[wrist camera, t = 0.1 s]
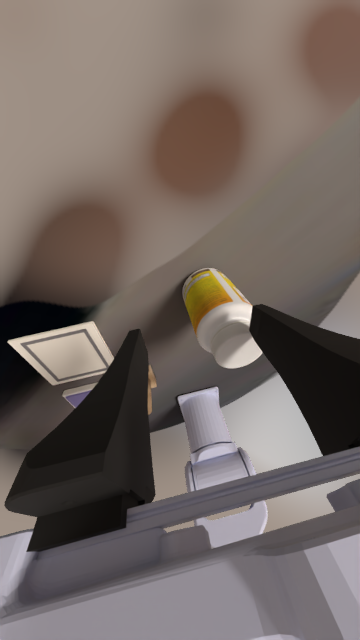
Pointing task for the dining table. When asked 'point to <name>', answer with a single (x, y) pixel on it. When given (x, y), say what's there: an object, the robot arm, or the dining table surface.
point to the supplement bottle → (220, 318)
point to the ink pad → (77, 394)
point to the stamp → (150, 385)
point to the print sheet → (66, 352)
